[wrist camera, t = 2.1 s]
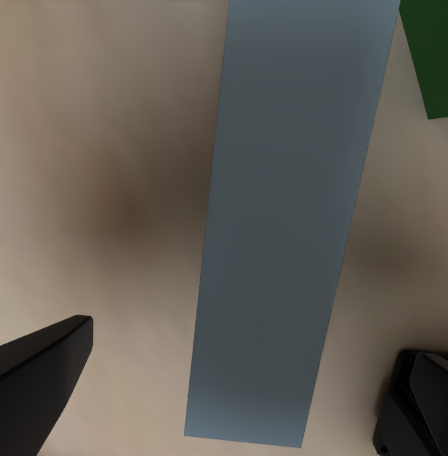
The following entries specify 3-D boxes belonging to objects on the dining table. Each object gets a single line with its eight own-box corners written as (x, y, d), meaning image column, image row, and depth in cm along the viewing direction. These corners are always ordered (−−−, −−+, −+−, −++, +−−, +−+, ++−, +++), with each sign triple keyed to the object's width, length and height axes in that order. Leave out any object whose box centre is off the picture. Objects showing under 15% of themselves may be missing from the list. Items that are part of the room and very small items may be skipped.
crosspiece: (241, -33, 12) (265, -346, 4) (317, -23, 12) (470, -316, 5) (205, 293, 16) (184, 435, 8) (264, 300, 16) (300, 448, 8)
